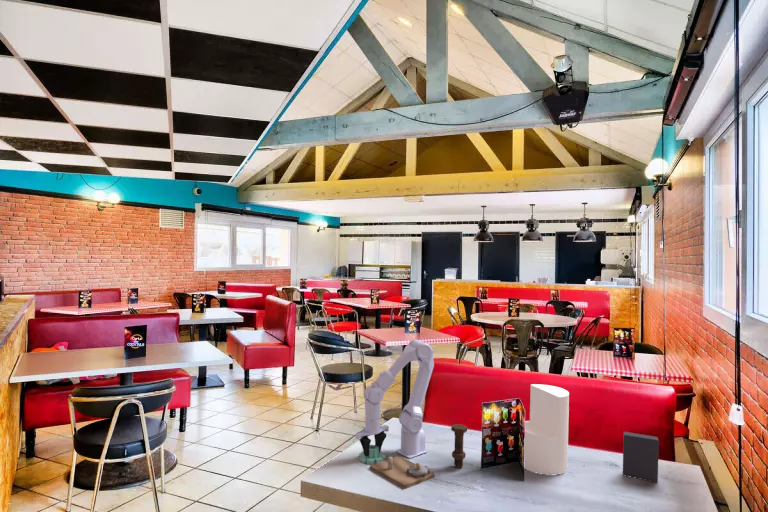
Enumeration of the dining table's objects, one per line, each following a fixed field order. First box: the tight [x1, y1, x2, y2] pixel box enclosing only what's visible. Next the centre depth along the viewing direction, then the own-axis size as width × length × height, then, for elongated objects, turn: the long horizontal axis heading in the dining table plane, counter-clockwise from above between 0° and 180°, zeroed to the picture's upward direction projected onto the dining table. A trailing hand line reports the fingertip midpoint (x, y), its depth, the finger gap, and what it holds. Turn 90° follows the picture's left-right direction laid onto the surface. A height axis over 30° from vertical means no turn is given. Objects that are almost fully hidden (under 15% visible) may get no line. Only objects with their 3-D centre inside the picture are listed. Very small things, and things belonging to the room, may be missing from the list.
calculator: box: [622, 431, 660, 483], centre depth 173 cm, size 11×4×15 cm, turn 65°
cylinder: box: [524, 383, 570, 475], centre depth 182 cm, size 17×17×28 cm
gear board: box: [369, 455, 436, 490], centre depth 173 cm, size 14×19×5 cm
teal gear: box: [358, 444, 386, 465], centre depth 185 cm, size 10×10×4 cm
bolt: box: [450, 423, 468, 469], centre depth 179 cm, size 6×5×15 cm
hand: (372, 453), depth 185 cm, fingers closed on teal gear, 5 cm apart
